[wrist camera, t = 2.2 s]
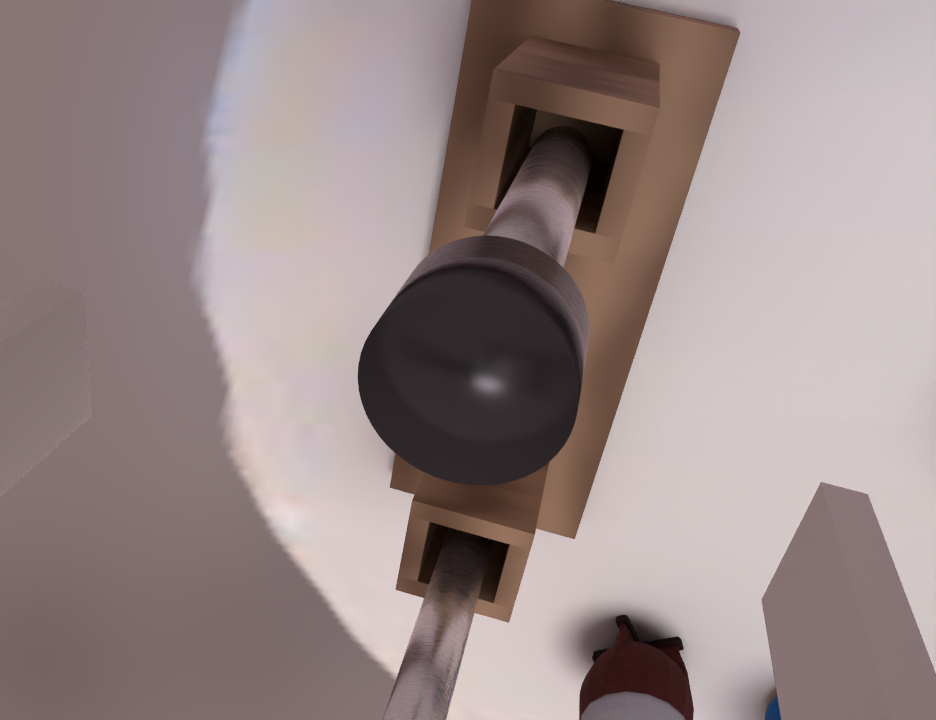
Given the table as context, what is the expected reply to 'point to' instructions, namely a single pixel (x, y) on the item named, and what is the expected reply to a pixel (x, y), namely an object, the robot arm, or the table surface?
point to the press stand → (594, 237)
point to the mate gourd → (637, 680)
